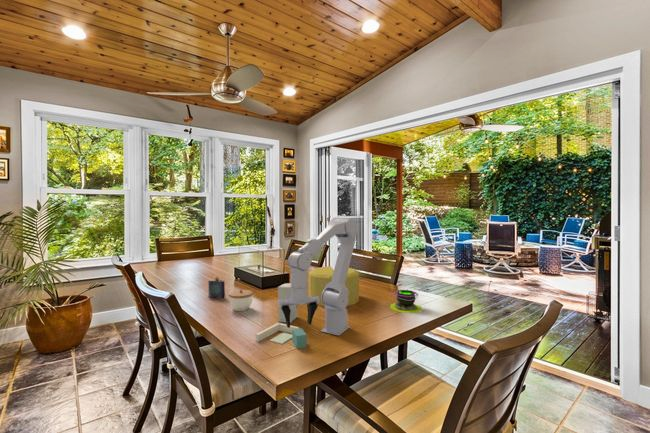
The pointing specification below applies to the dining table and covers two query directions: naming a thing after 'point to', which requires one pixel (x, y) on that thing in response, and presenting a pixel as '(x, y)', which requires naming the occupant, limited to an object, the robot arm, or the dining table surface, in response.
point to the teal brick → (299, 338)
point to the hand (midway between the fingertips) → (299, 325)
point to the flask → (216, 288)
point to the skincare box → (285, 293)
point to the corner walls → (274, 330)
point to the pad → (282, 338)
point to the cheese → (324, 276)
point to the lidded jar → (240, 299)
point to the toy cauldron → (406, 302)
